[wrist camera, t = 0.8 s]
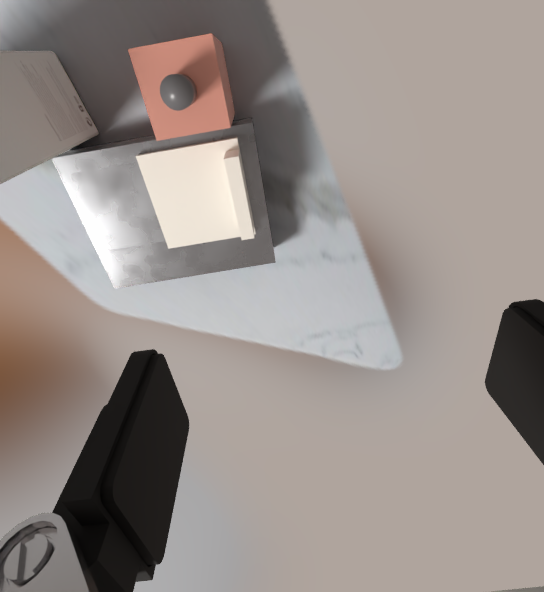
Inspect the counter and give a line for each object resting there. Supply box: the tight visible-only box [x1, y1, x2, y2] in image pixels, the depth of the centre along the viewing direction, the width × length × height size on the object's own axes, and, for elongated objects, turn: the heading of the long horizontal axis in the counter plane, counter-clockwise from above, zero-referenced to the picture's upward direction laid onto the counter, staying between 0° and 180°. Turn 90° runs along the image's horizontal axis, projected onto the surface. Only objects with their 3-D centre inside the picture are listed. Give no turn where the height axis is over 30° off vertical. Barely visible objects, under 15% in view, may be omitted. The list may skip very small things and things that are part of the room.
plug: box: [128, 33, 235, 141], centre depth 22 cm, size 4×4×10 cm
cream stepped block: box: [136, 137, 256, 249], centre depth 26 cm, size 8×8×3 cm
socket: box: [51, 118, 275, 288], centre depth 29 cm, size 12×15×3 cm
